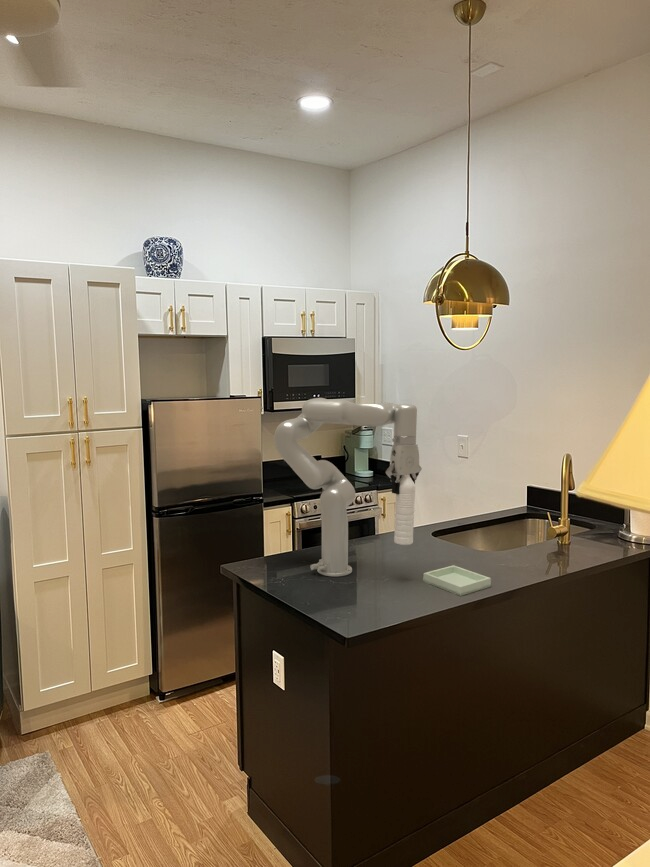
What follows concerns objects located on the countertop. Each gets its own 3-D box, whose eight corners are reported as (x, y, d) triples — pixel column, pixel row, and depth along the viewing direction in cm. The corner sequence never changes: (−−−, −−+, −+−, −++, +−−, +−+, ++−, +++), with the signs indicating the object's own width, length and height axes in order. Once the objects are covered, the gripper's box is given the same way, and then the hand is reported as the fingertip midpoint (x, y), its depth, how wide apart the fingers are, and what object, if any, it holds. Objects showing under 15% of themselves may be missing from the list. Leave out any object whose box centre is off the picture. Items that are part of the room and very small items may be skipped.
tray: (460, 596, 211) (460, 587, 211) (423, 581, 225) (423, 573, 225) (490, 586, 220) (490, 578, 220) (453, 573, 234) (453, 565, 234)
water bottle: (416, 544, 223) (419, 472, 220) (400, 546, 220) (403, 473, 217) (403, 537, 231) (405, 468, 228) (387, 539, 228) (389, 469, 225)
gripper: (393, 443, 213) (391, 497, 215) (430, 440, 223) (429, 491, 226) (378, 441, 219) (376, 493, 221) (415, 437, 229) (413, 487, 232)
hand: (403, 491), depth 223 cm, fingers closed on water bottle, 6 cm apart
